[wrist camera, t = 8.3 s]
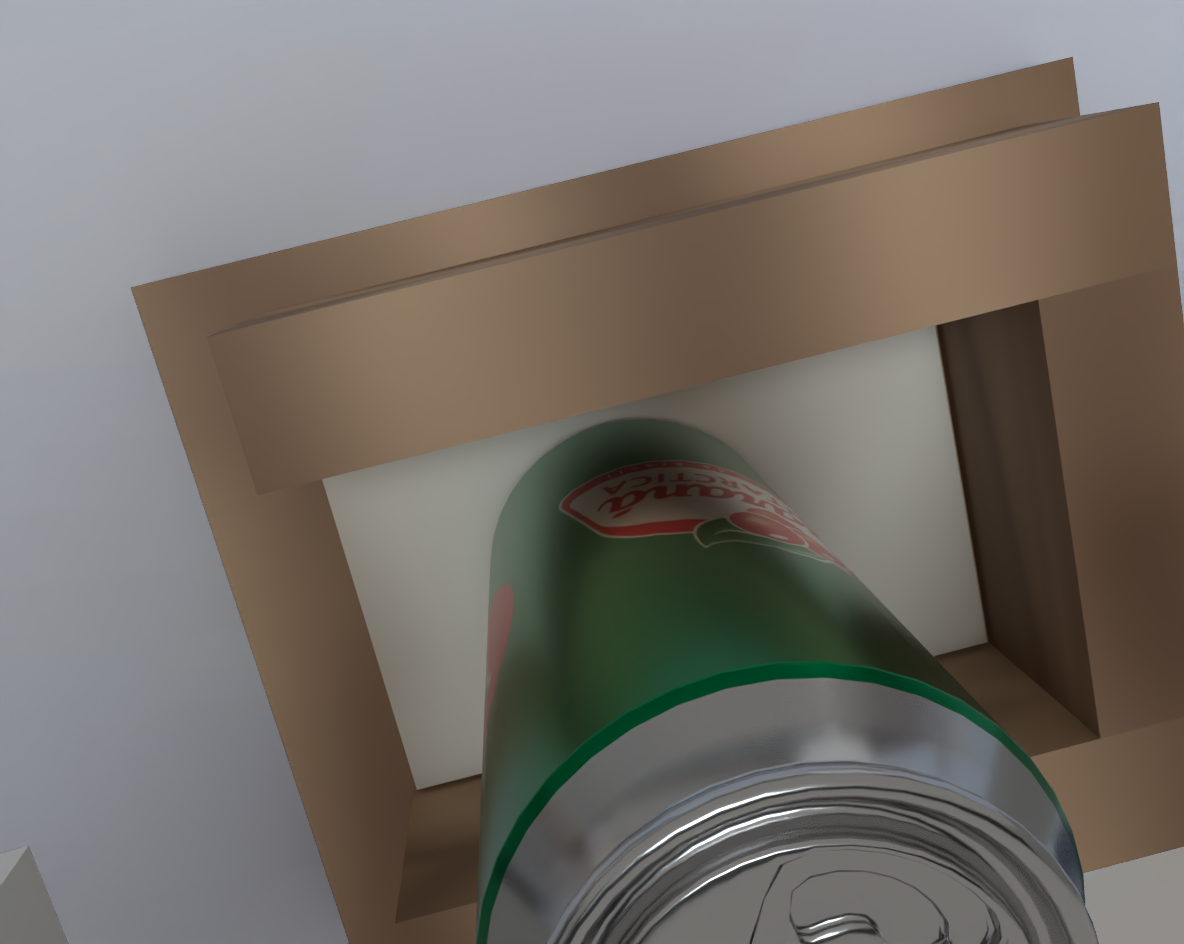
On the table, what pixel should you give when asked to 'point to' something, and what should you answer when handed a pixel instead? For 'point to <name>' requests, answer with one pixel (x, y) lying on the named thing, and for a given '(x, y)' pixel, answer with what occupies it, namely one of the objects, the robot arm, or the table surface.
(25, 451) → the table surface
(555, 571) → the soda can
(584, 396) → the cradle
